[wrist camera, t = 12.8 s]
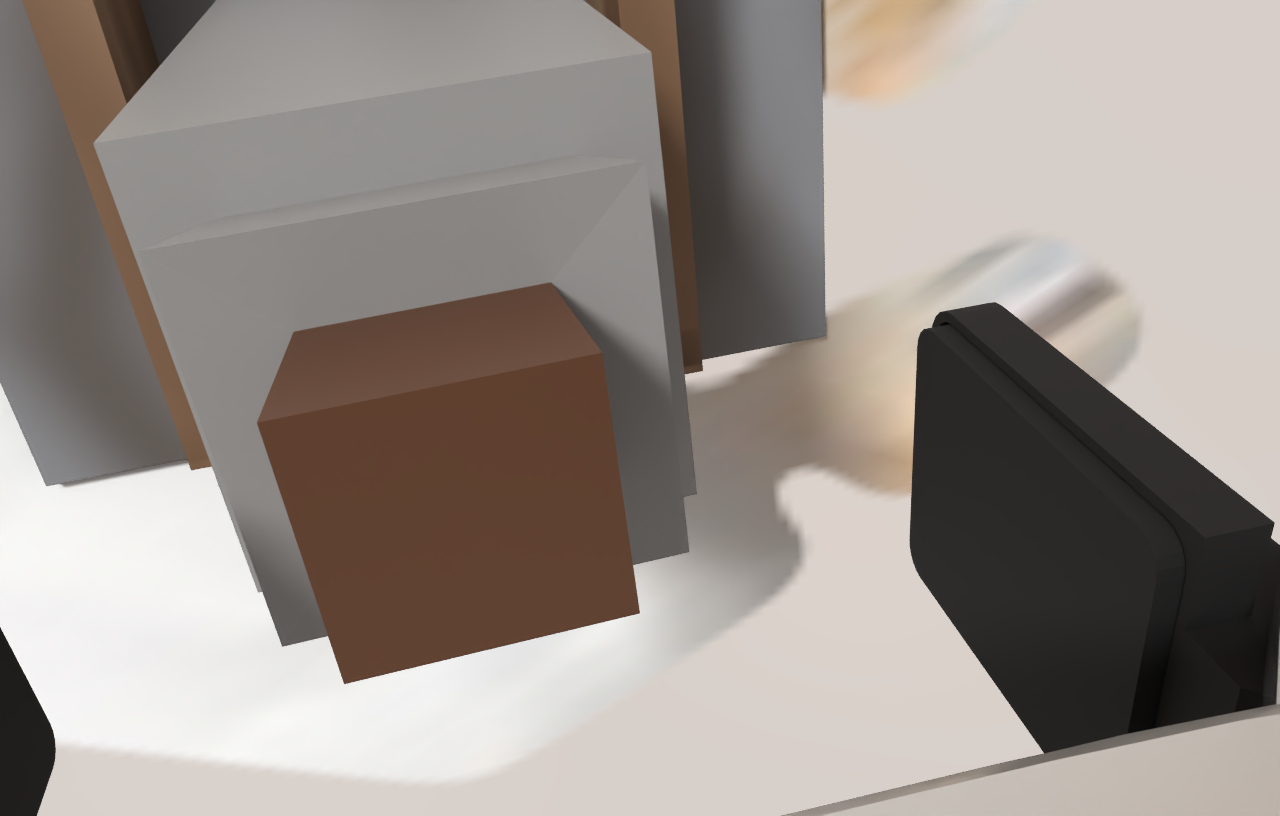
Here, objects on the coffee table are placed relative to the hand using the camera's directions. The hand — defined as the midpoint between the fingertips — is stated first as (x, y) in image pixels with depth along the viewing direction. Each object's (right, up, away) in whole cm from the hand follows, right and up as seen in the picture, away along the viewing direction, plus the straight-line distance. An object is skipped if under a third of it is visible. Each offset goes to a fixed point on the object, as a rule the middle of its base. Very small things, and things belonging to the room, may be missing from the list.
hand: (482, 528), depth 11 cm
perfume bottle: (-4, +8, +16) cm, 19 cm away
